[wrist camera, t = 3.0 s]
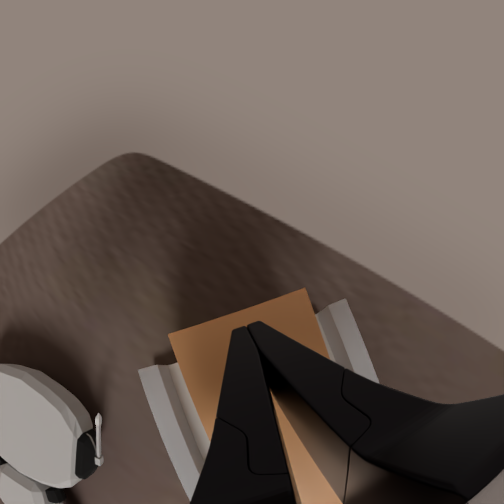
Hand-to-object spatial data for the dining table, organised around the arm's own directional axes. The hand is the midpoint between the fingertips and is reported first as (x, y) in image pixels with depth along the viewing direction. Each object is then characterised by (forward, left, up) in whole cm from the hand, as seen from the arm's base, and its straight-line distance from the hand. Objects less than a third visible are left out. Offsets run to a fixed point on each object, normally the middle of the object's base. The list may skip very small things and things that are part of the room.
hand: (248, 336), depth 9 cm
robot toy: (-18, +3, -13) cm, 22 cm away
